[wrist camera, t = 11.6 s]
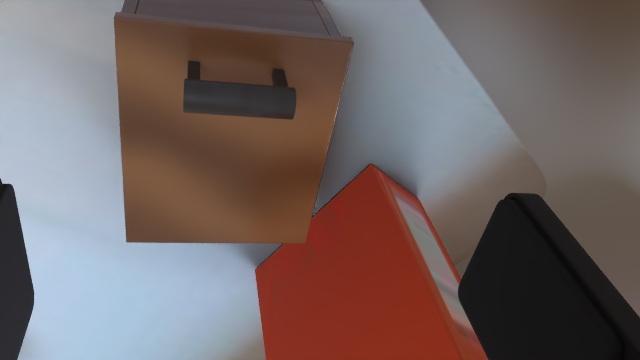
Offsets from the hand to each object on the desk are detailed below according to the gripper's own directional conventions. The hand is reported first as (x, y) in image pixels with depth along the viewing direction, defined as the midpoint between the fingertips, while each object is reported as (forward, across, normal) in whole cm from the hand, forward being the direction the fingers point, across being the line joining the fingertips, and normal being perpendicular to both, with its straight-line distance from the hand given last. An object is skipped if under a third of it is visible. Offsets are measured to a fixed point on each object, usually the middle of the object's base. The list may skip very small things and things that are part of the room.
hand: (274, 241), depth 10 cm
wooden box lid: (+23, -1, +13) cm, 26 cm away
